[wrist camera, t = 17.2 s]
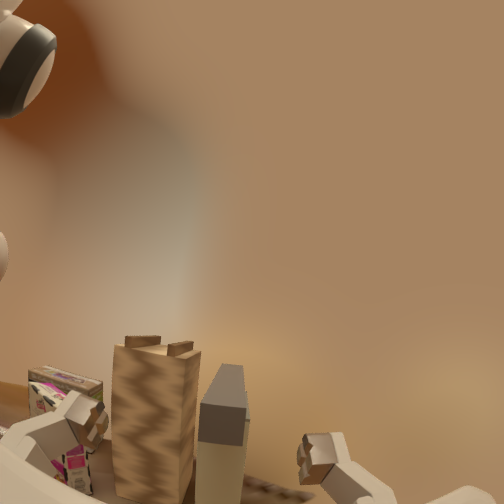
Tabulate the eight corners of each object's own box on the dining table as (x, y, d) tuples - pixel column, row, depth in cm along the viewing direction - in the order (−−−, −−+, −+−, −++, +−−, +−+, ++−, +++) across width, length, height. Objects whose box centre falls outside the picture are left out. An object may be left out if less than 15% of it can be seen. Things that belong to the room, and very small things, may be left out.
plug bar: (197, 441, 15) (200, 402, 16) (220, 382, 36) (222, 363, 37) (242, 446, 15) (246, 408, 16) (240, 385, 36) (242, 365, 37)
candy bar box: (95, 494, 22) (87, 407, 27) (71, 501, 18) (57, 408, 22) (57, 461, 26) (51, 381, 31) (36, 464, 22) (26, 379, 27)
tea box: (104, 438, 43) (104, 380, 48) (91, 455, 34) (89, 389, 38) (49, 419, 41) (48, 363, 45) (30, 431, 31) (26, 367, 35)
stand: (116, 495, 24) (115, 333, 32) (142, 463, 38) (148, 333, 45) (178, 512, 24) (186, 347, 32) (192, 474, 38) (202, 342, 45)
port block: (194, 555, 15) (199, 413, 21) (203, 509, 26) (212, 387, 33) (232, 560, 15) (249, 419, 21) (233, 513, 26) (246, 391, 33)
